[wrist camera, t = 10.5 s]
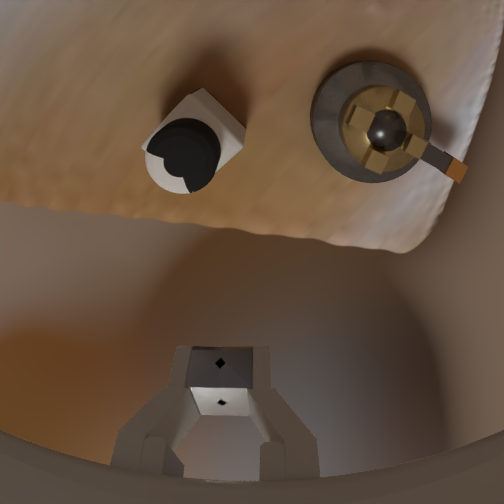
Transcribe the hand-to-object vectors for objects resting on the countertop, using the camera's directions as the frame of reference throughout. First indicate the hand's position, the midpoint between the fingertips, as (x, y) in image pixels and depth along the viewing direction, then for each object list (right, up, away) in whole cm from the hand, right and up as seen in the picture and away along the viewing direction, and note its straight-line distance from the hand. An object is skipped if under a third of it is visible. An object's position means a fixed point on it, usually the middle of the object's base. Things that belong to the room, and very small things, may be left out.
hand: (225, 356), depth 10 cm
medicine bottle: (-5, +17, +24) cm, 30 cm away
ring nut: (+18, +16, +21) cm, 31 cm away
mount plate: (+14, +19, +22) cm, 32 cm away
